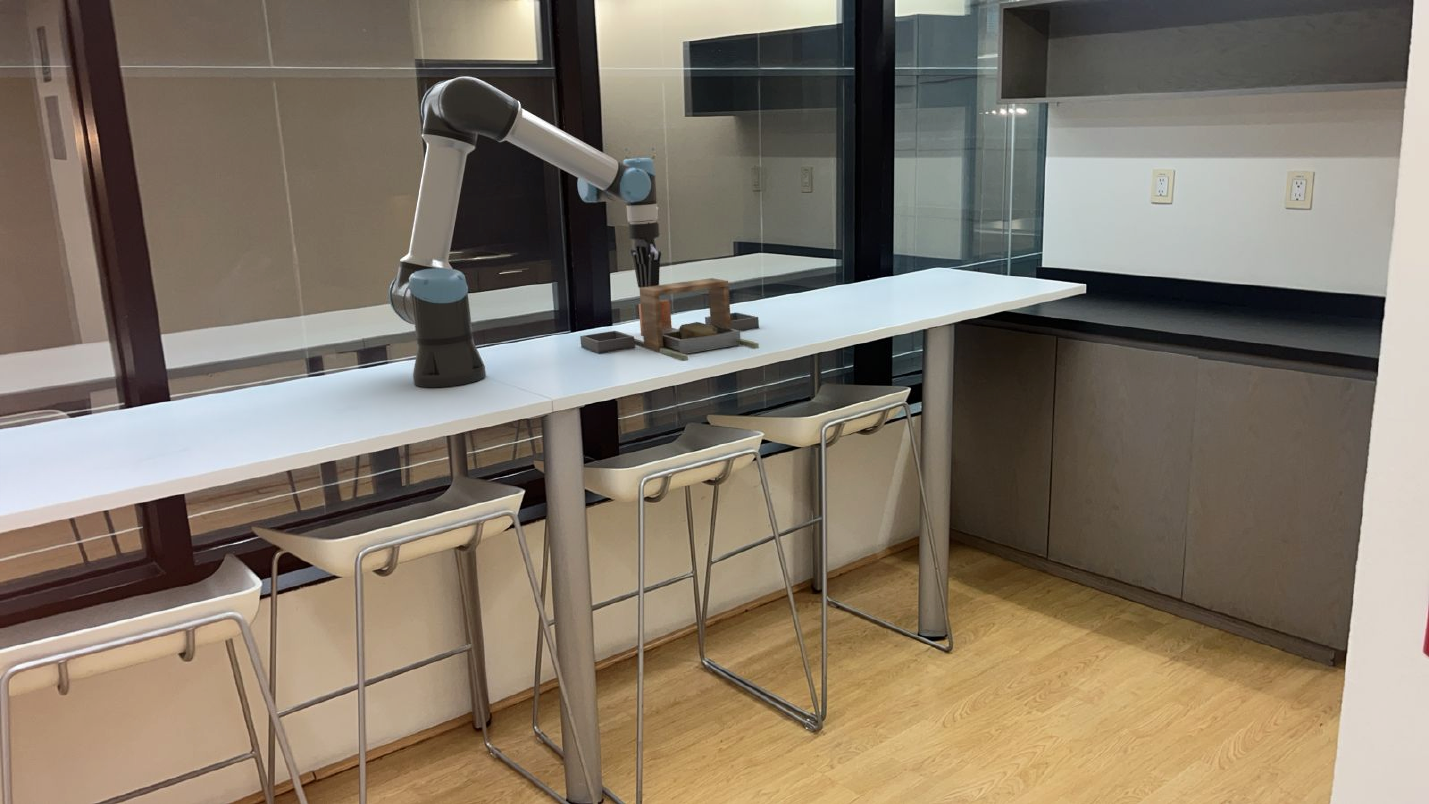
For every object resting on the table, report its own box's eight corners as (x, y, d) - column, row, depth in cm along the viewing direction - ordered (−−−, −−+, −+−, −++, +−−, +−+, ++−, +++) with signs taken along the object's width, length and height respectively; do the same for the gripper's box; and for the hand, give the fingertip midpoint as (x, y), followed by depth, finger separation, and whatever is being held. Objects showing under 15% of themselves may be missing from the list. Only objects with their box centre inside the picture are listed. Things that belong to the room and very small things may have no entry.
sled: (680, 354, 237) (677, 319, 235) (627, 337, 262) (624, 305, 260) (740, 344, 244) (738, 310, 242) (683, 329, 269) (681, 297, 267)
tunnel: (683, 360, 232) (678, 296, 228) (616, 338, 264) (611, 282, 260) (758, 347, 240) (755, 285, 237) (685, 328, 272) (681, 273, 269)
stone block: (700, 341, 251) (699, 320, 250) (721, 348, 241) (719, 327, 240) (678, 344, 249) (676, 323, 248) (697, 352, 239) (696, 330, 238)
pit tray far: (726, 333, 261) (726, 322, 260) (705, 327, 270) (704, 317, 270) (758, 328, 265) (758, 317, 264) (737, 323, 275) (736, 312, 274)
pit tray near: (598, 353, 246) (597, 342, 245) (581, 347, 255) (580, 335, 255) (634, 348, 250) (633, 336, 249) (616, 341, 259) (615, 330, 259)
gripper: (668, 221, 257) (675, 317, 263) (645, 219, 268) (653, 312, 274) (640, 224, 254) (648, 321, 259) (618, 222, 265) (626, 315, 270)
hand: (650, 316), depth 266 cm, fingers closed
